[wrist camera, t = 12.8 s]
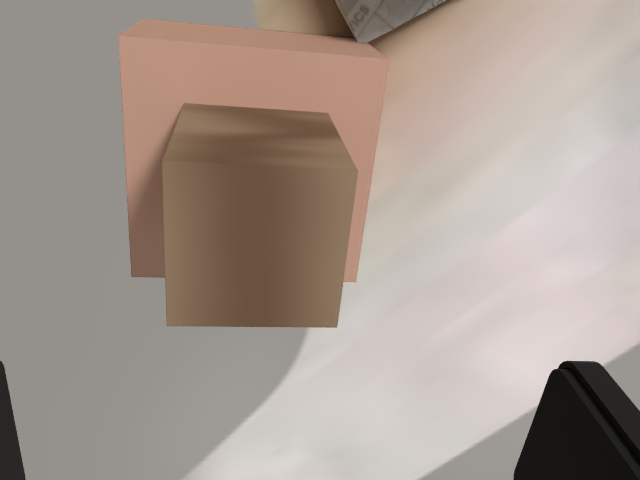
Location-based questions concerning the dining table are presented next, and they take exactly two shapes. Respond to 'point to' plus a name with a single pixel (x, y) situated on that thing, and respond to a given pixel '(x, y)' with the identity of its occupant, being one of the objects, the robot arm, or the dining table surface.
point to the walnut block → (255, 217)
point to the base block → (238, 105)
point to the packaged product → (380, 15)
